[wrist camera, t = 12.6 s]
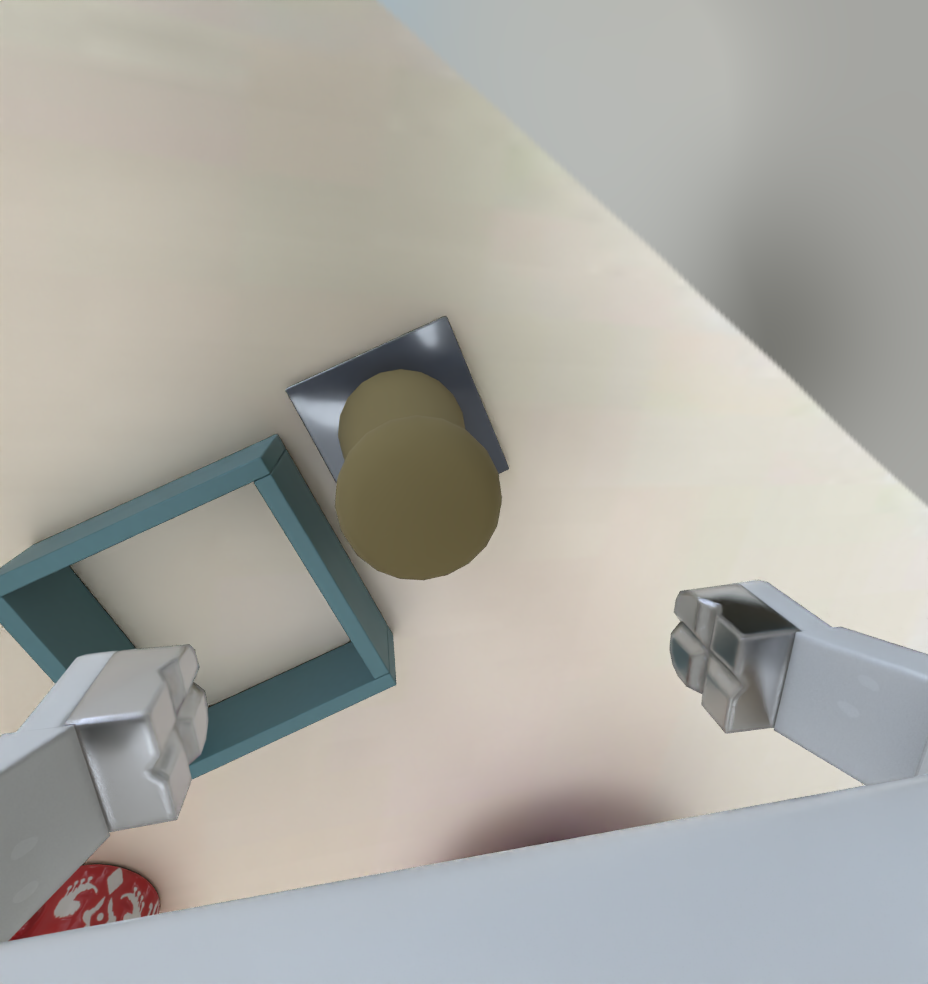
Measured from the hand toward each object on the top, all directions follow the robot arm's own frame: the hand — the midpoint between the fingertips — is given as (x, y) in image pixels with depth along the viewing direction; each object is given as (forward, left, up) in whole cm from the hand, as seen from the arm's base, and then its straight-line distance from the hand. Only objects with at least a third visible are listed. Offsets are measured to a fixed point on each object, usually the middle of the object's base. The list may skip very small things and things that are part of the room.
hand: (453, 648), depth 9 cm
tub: (+4, -12, -18) cm, 22 cm away
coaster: (0, 0, -18) cm, 18 cm away
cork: (0, 0, -18) cm, 18 cm away
